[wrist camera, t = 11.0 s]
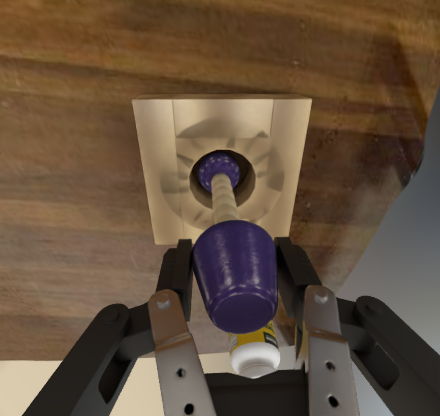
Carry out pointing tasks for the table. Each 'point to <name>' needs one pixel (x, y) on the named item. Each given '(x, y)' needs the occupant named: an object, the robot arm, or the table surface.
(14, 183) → the table surface
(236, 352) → the pill bottle
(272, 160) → the socket base
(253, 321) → the toy lamp
